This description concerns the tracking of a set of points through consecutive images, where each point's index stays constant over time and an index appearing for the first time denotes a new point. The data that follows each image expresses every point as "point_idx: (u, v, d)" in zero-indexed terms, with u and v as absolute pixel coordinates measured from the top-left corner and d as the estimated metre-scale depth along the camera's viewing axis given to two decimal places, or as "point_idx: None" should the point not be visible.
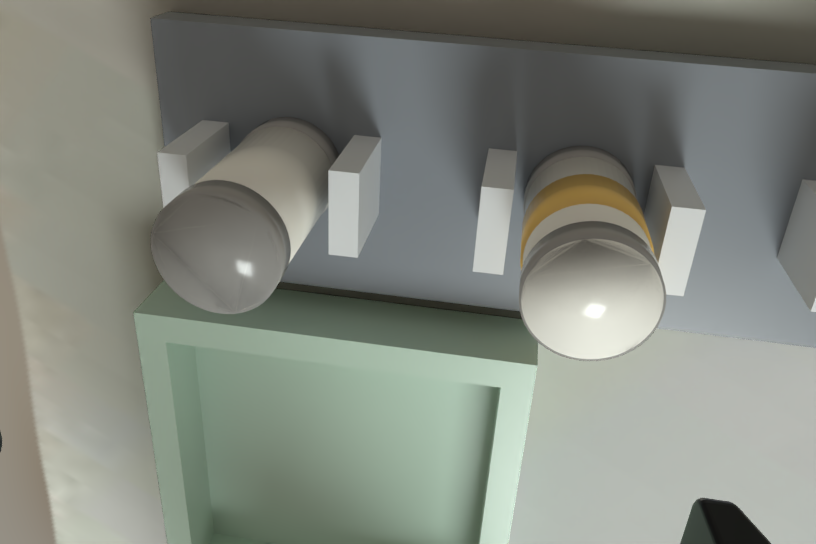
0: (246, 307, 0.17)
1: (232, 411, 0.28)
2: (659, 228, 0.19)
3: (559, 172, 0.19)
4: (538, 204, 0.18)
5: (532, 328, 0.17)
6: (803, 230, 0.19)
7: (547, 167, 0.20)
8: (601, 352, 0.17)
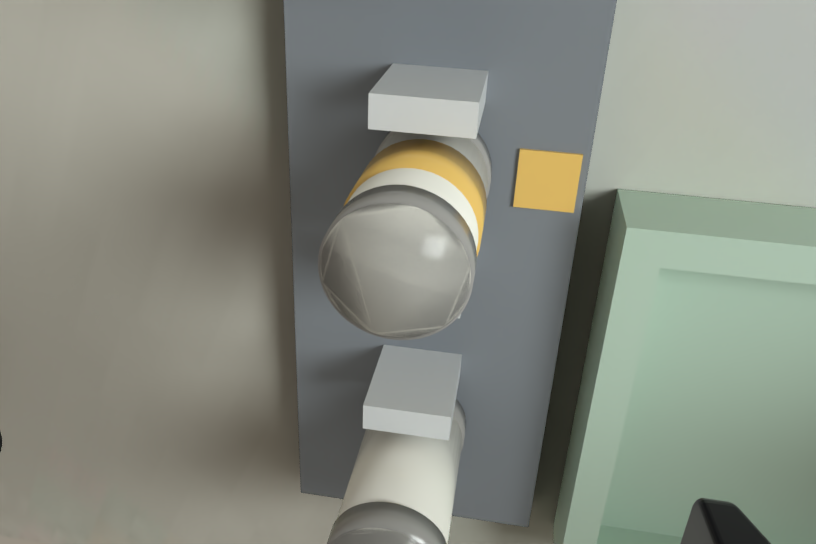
0: None
1: None
2: None
3: None
4: None
5: (435, 327, 0.15)
6: None
7: None
8: (460, 260, 0.14)
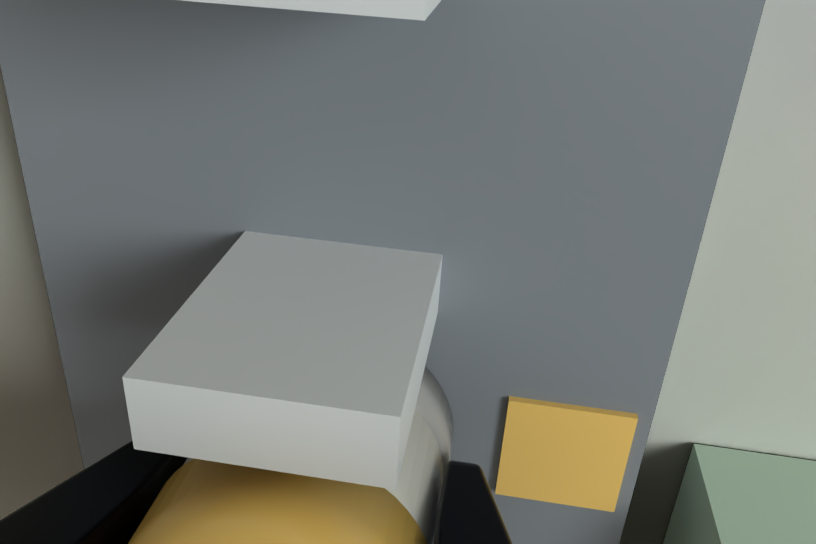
0: None
1: None
2: None
3: None
4: None
5: None
6: None
7: None
8: None
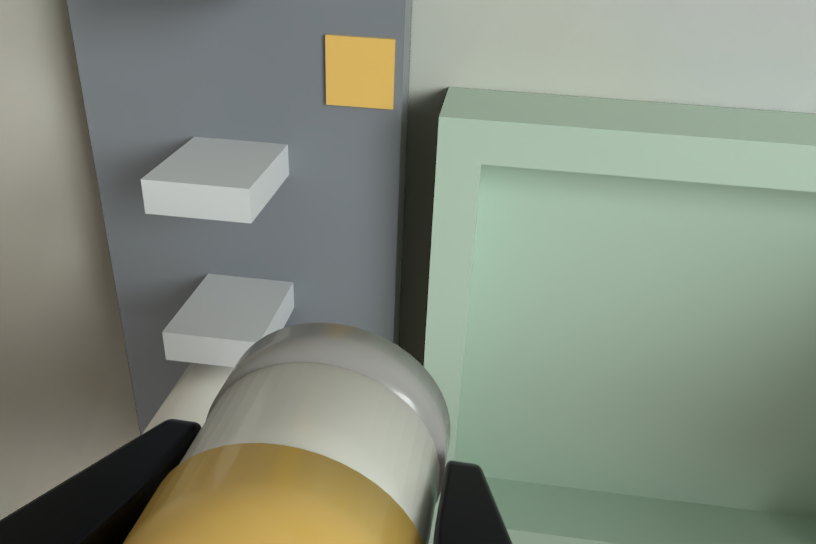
0: None
1: (596, 459, 0.22)
2: None
3: None
4: None
5: None
6: None
7: None
8: None
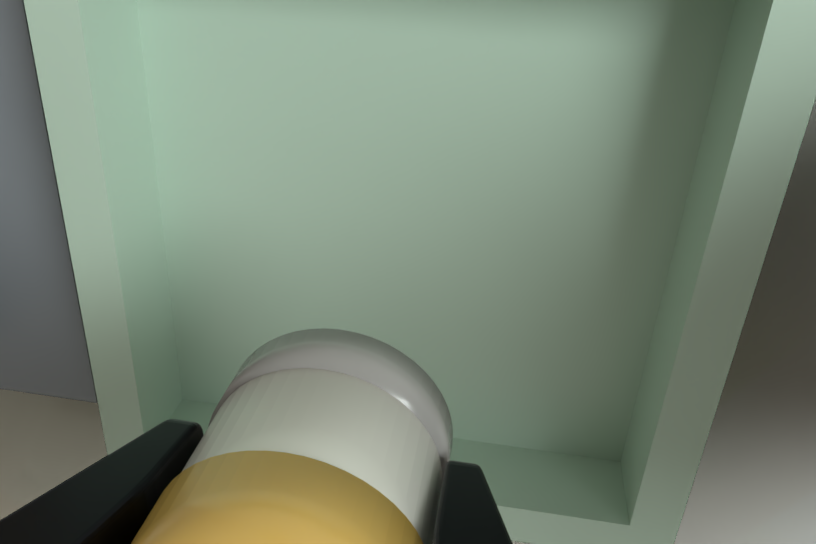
0: None
1: None
2: None
3: None
4: None
5: None
6: None
7: None
8: None
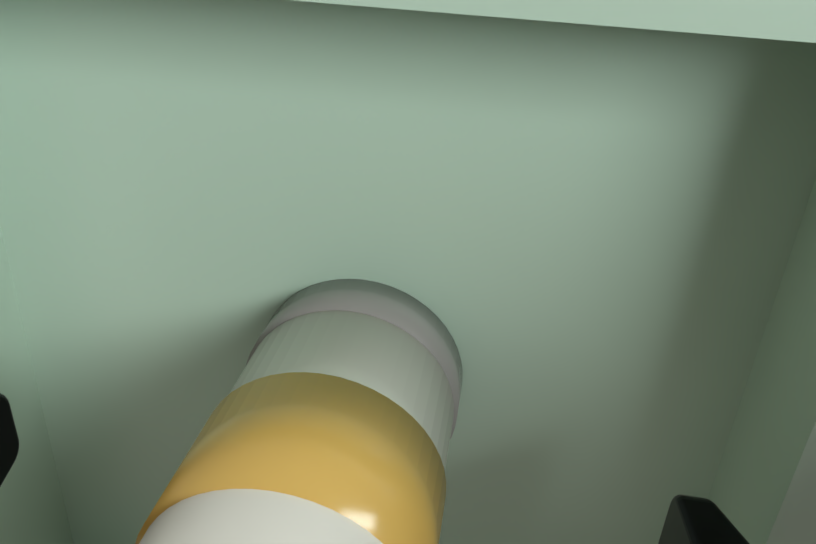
0: None
1: None
2: None
3: None
4: None
5: None
6: None
7: None
8: None
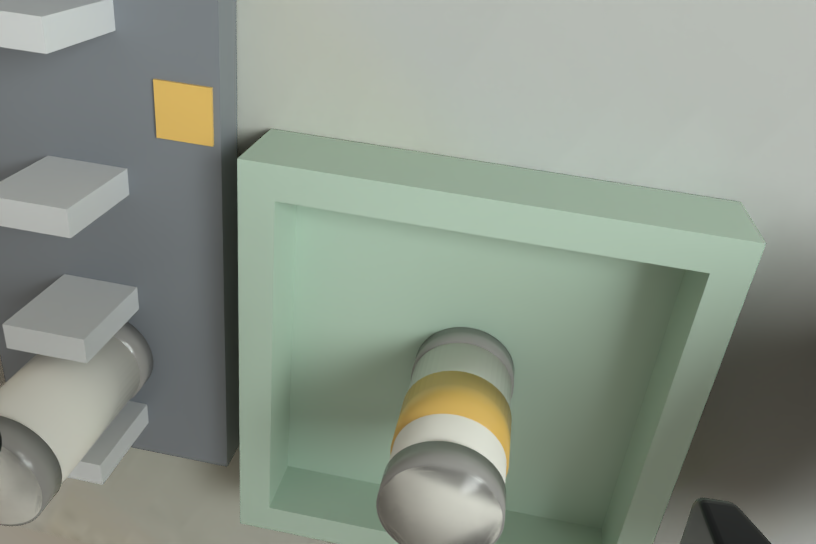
0: (30, 471, 0.18)
1: None
2: None
3: None
4: None
5: None
6: None
7: None
8: (495, 510, 0.17)
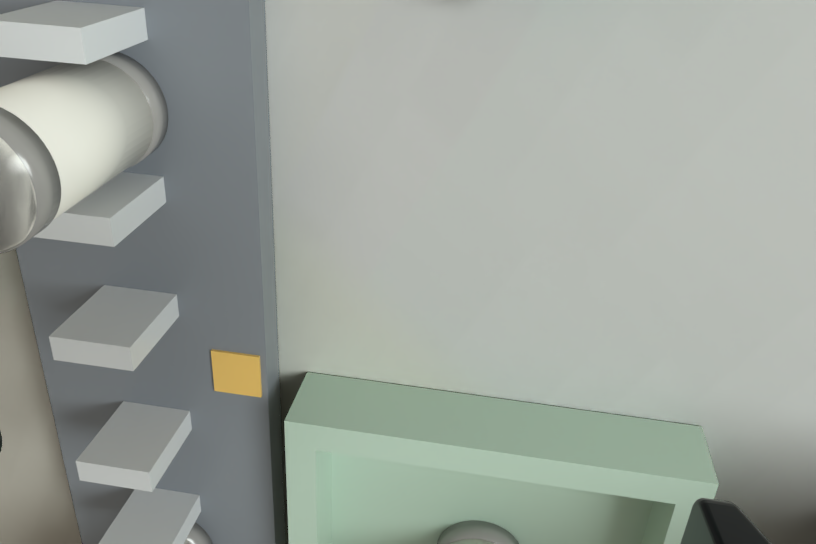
0: None
1: None
2: None
3: None
4: None
5: None
6: None
7: None
8: None
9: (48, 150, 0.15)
